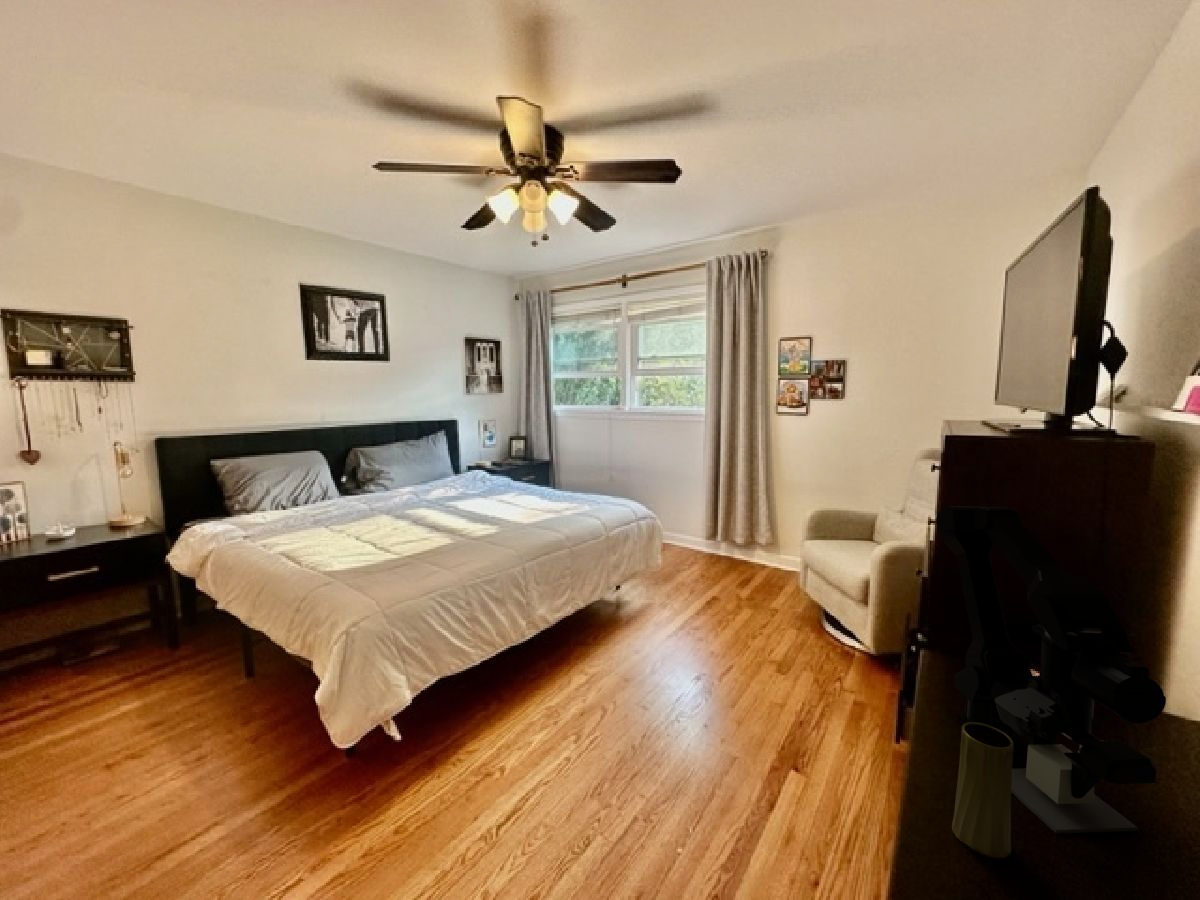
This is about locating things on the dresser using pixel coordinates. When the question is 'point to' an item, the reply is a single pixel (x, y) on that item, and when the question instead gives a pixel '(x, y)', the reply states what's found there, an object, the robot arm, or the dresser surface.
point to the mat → (1068, 810)
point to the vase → (984, 790)
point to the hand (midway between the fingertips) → (1058, 782)
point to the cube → (1053, 773)
